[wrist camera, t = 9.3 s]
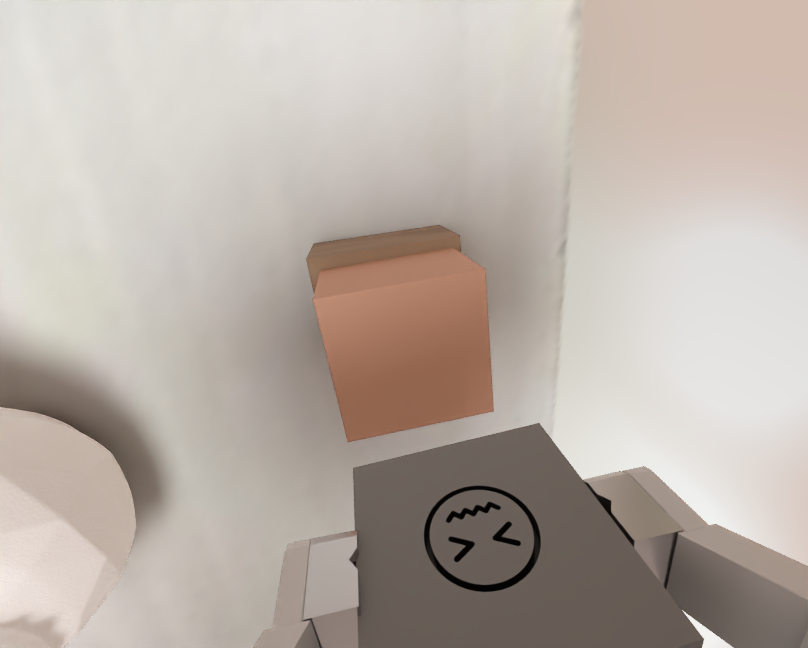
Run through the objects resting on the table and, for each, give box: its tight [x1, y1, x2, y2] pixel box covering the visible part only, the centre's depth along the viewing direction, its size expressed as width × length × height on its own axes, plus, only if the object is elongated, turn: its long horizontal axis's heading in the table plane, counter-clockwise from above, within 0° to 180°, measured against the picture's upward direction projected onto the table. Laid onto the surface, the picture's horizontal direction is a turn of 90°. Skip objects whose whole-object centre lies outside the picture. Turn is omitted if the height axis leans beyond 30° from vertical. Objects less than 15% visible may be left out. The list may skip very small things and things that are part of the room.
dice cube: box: [353, 423, 704, 648], centre depth 9 cm, size 5×5×5 cm
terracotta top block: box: [313, 247, 494, 442], centre depth 19 cm, size 7×7×5 cm
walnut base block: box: [306, 225, 461, 293], centre depth 23 cm, size 8×8×5 cm
